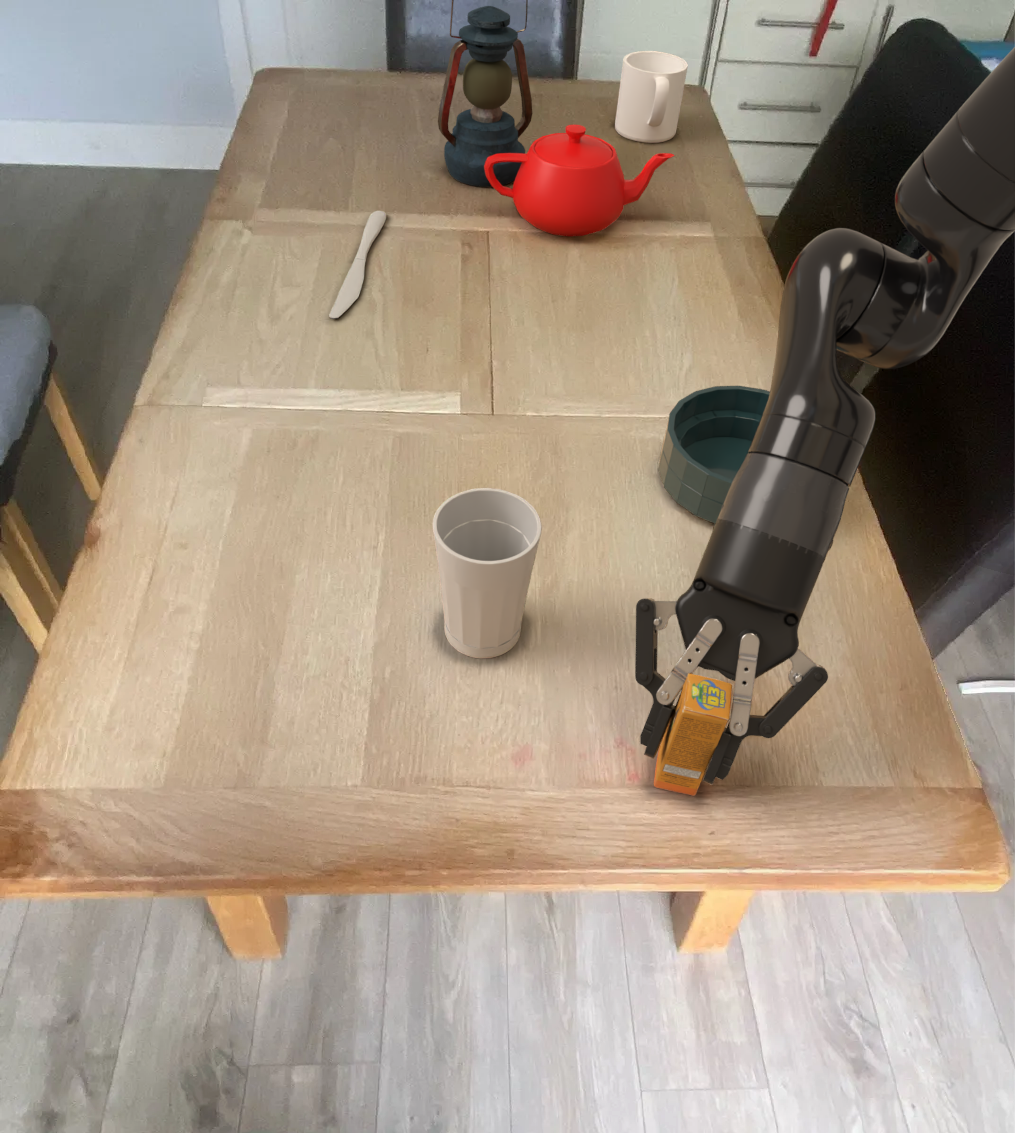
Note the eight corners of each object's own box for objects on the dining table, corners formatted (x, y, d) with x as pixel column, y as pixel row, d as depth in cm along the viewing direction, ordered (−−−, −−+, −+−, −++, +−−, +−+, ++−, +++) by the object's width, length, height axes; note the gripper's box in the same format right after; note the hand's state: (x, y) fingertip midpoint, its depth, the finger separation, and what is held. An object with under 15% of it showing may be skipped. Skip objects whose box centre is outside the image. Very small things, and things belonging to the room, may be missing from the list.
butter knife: (394, 211, 123) (372, 207, 123) (347, 319, 105) (322, 315, 105) (394, 215, 123) (372, 211, 123) (347, 324, 105) (322, 320, 105)
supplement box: (699, 799, 65) (730, 722, 58) (652, 788, 65) (676, 710, 58) (703, 760, 67) (733, 680, 60) (657, 749, 68) (682, 669, 60)
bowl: (810, 446, 93) (828, 399, 89) (814, 549, 83) (835, 501, 79) (664, 422, 95) (674, 375, 90) (650, 520, 85) (661, 471, 80)
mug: (610, 117, 151) (618, 50, 143) (669, 119, 151) (680, 51, 144) (622, 149, 142) (632, 79, 135) (684, 150, 143) (697, 80, 135)
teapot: (481, 242, 119) (484, 148, 111) (483, 189, 130) (486, 100, 121) (669, 250, 120) (686, 158, 111) (655, 198, 131) (671, 109, 122)
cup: (523, 673, 72) (533, 571, 63) (424, 658, 72) (421, 554, 64) (536, 599, 77) (548, 495, 68) (445, 585, 78) (445, 480, 69)
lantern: (454, 195, 128) (456, -107, 103) (425, 161, 136) (420, -129, 110) (544, 182, 133) (567, -111, 107) (512, 149, 140) (526, -132, 114)
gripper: (666, 492, 59) (573, 734, 60) (884, 570, 55) (779, 826, 57) (678, 503, 66) (594, 719, 68) (872, 573, 62) (779, 800, 64)
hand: (679, 766), depth 62 cm, fingers closed on supplement box, 3 cm apart
